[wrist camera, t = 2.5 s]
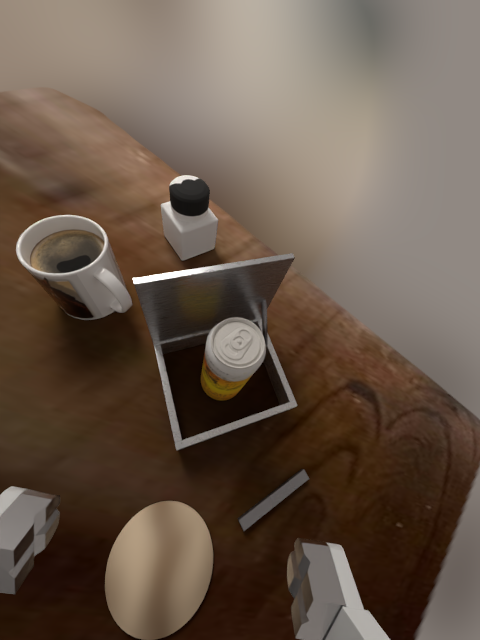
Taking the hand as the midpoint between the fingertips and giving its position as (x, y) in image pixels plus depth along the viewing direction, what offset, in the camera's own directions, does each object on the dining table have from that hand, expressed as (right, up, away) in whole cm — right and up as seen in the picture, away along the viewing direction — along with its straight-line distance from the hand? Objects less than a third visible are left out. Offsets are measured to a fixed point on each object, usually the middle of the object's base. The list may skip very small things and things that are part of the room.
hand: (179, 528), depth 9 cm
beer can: (-1, -2, +29) cm, 29 cm away
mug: (-21, +10, +32) cm, 39 cm away
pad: (-6, -19, +19) cm, 27 cm away
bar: (+6, -15, +24) cm, 29 cm away
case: (-1, -2, +29) cm, 29 cm away
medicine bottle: (-8, +22, +40) cm, 46 cm away
